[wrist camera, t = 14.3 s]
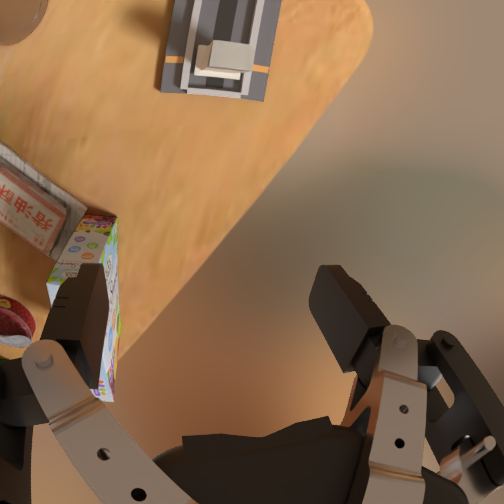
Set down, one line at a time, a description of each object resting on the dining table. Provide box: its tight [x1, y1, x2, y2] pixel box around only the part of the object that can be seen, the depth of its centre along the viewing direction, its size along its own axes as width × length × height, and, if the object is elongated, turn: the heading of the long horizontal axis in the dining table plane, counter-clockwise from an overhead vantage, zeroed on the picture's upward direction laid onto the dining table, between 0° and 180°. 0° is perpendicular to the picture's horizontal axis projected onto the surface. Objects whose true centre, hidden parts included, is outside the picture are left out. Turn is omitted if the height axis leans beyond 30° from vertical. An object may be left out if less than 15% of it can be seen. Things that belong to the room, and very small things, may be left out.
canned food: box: [0, 297, 36, 348], centre depth 38 cm, size 11×10×10 cm
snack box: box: [46, 215, 121, 402], centre depth 35 cm, size 21×6×15 cm, turn 167°
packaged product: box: [0, 141, 88, 261], centre depth 30 cm, size 18×5×10 cm
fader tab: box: [194, 40, 255, 80], centre depth 25 cm, size 5×4×10 cm
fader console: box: [161, 0, 281, 102], centre depth 26 cm, size 12×20×2 cm, turn 171°
